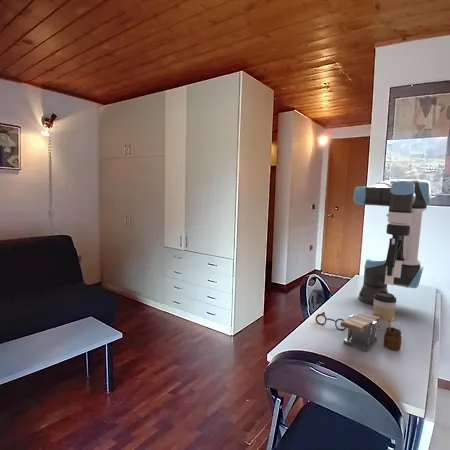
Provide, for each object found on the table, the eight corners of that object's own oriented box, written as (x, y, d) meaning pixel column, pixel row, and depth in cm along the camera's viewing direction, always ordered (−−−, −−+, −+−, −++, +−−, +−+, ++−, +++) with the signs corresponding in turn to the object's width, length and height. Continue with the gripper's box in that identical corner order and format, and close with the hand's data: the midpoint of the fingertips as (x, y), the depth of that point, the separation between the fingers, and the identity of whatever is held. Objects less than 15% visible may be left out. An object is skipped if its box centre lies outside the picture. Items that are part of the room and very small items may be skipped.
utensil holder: (390, 352, 121) (394, 321, 119) (379, 343, 127) (382, 314, 125) (404, 350, 122) (407, 320, 121) (392, 342, 128) (395, 313, 127)
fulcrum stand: (353, 333, 135) (355, 311, 134) (377, 341, 129) (380, 318, 128) (342, 343, 126) (344, 319, 125) (368, 352, 120) (370, 327, 119)
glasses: (314, 324, 144) (315, 313, 143) (324, 315, 155) (324, 304, 154) (345, 332, 137) (346, 321, 136) (353, 322, 147) (354, 311, 147)
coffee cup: (396, 332, 138) (400, 298, 136) (373, 329, 139) (376, 295, 138) (390, 323, 146) (393, 291, 145) (368, 321, 148) (371, 289, 146)
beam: (364, 314, 140) (364, 311, 139) (381, 319, 135) (382, 315, 135) (340, 326, 118) (340, 321, 118) (360, 332, 114) (360, 327, 113)
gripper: (394, 221, 132) (388, 272, 134) (379, 225, 112) (373, 285, 114) (415, 223, 127) (409, 276, 130) (404, 227, 108) (397, 290, 110)
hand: (392, 280), depth 122 cm, fingers open, 13 cm apart
